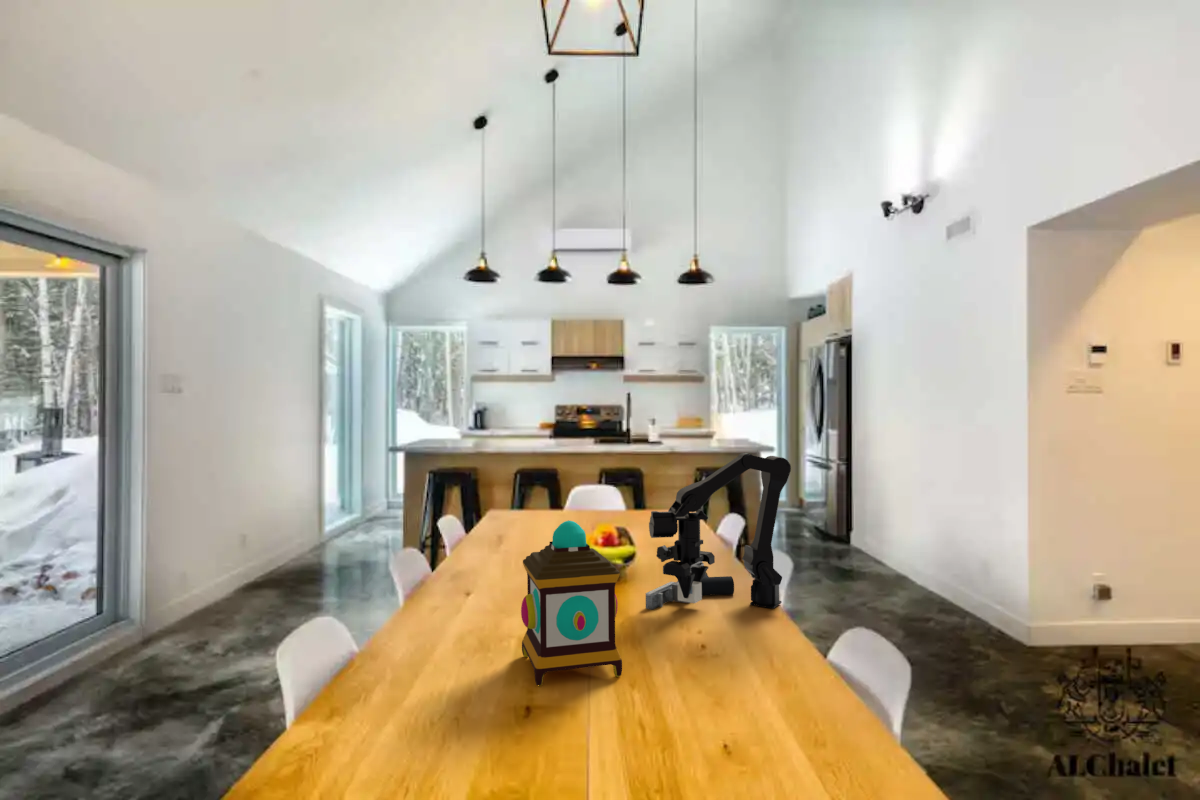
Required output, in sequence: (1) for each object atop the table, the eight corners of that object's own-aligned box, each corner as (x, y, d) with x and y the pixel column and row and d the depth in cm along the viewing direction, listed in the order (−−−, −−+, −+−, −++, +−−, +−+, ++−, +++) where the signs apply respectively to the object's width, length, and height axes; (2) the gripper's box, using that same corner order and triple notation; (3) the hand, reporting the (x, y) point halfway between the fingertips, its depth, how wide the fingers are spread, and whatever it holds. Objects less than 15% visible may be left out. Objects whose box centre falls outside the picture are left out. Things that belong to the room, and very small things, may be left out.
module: (701, 599, 182) (701, 582, 182) (694, 603, 178) (694, 585, 178) (684, 596, 184) (684, 579, 184) (677, 600, 181) (677, 583, 181)
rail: (680, 597, 191) (680, 583, 191) (655, 610, 180) (655, 594, 180) (671, 595, 193) (671, 581, 193) (645, 608, 181) (645, 593, 181)
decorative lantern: (530, 691, 130) (528, 532, 130) (514, 654, 149) (513, 515, 149) (631, 679, 135) (630, 526, 135) (603, 645, 154) (602, 510, 154)
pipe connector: (672, 569, 202) (722, 567, 204) (672, 587, 202) (722, 585, 204) (681, 580, 191) (734, 578, 193) (681, 599, 191) (734, 597, 193)
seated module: (694, 599, 189) (694, 583, 189) (689, 603, 186) (689, 587, 186) (677, 597, 192) (677, 581, 192) (671, 601, 188) (671, 584, 188)
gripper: (678, 527, 194) (679, 583, 194) (644, 539, 178) (645, 599, 178) (715, 531, 187) (715, 589, 187) (683, 544, 172) (683, 606, 172)
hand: (689, 596), depth 181 cm, fingers closed on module, 4 cm apart
